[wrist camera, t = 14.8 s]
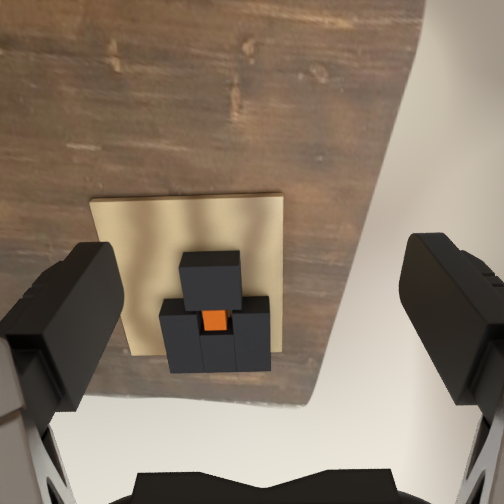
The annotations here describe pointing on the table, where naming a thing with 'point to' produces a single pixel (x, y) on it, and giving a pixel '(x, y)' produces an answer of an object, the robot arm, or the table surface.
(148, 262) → the board
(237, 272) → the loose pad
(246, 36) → the table surface
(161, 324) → the dark grey u-shaped block
